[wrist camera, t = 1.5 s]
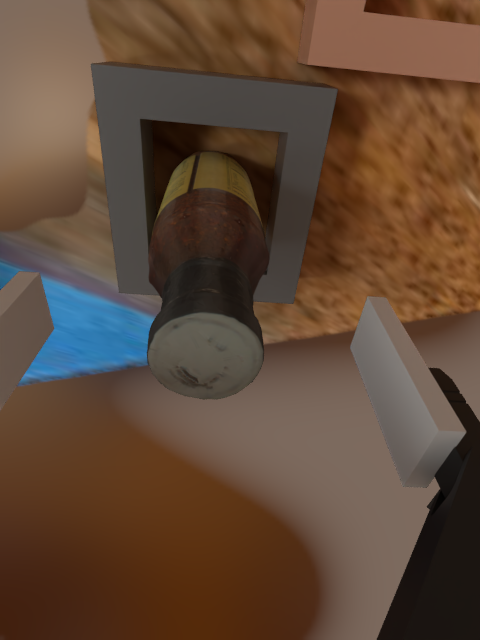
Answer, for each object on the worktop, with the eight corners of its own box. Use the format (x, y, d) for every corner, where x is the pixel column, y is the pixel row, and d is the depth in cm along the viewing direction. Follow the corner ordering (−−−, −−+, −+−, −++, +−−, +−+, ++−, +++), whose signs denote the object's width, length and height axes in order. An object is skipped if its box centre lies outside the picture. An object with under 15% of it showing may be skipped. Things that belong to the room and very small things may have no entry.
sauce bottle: (184, 234, 31) (134, 436, 15) (159, 156, 27) (57, 311, 11) (262, 218, 30) (298, 411, 14) (247, 135, 26) (273, 269, 10)
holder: (130, 268, 33) (119, 292, 29) (109, 61, 24) (90, 63, 20) (287, 279, 33) (293, 303, 30) (323, 83, 25) (337, 89, 21)
